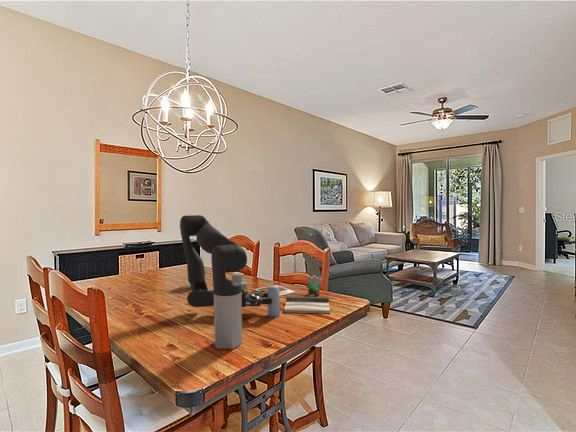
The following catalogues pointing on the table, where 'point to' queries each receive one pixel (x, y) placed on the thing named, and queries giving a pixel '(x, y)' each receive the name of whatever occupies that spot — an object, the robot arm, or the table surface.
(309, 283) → the food container
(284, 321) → the table surface
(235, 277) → the air freshener
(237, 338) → the robot arm
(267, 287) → the photo frame
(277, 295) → the roller
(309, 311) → the board
